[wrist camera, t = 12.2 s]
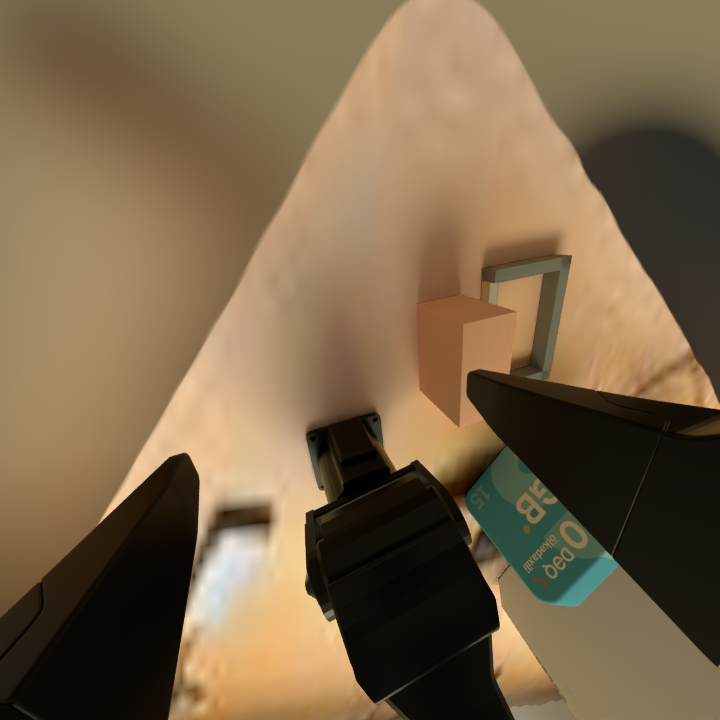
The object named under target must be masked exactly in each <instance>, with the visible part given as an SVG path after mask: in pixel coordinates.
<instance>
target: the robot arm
mask: <svg viewBox="0 0 720 720" xmlns="http://www.w3.org/2000/svg"><path fill="white" fill-rule="evenodd" d="M466 394H467V397H468V399H469V400H470V402H471V403H472V404H473V406H474V407H475V408H476V410H477V411H478V412H479V413H480V415H481V416H482V417H483V419H484V420H485V421H486V422H487V424H488V425H489V426H490V428H491V429H492V430H493V431H494V432H495V434H496V435H497V436H498V437H499V438H500V439H501V440H502V441H503V442H504V443H505V444H506V445H507V446H508V447H509V449H510V450H511V451H512V452H513V453H514V454H515V455H516V456H517V457H518V458H519V459H520V460H521V461H522V462H523V463H524V464H525V465H526V467H527V468H528V469H529V470H530V471H531V472H532V473H533V474H534V475H535V476H536V477H537V478H538V479H539V480H540V481H541V482H542V483H543V485H544V486H545V487H546V488H547V489H548V490H549V491H550V492H551V493H552V494H553V495H554V496H555V497H556V498H557V499H558V500H559V501H560V503H561V504H562V505H563V506H564V507H565V508H566V509H567V510H568V511H569V512H570V513H571V514H572V515H573V516H574V517H575V518H576V519H577V521H578V522H579V523H580V524H581V525H582V526H583V527H584V528H585V529H586V530H587V531H588V532H589V533H590V534H591V535H592V536H593V538H594V539H595V540H596V541H597V542H598V543H599V544H600V545H601V546H602V547H603V548H604V549H605V550H606V551H607V552H608V553H609V554H610V555H611V556H612V558H613V559H614V560H615V561H616V562H617V563H618V564H619V565H620V566H621V567H622V568H623V570H624V571H625V572H626V573H627V574H628V575H629V576H630V577H631V578H632V579H633V580H634V581H635V582H636V583H637V584H638V585H639V587H640V588H641V589H642V590H643V591H644V592H645V593H646V594H647V595H648V596H649V597H650V598H651V599H652V600H653V601H654V602H655V603H656V605H657V606H658V607H659V608H660V609H661V610H662V611H663V612H664V613H665V614H666V615H667V616H668V617H669V618H670V619H671V620H672V622H673V623H674V624H675V625H676V626H677V627H678V628H679V629H680V630H681V631H682V632H683V633H684V634H685V635H686V636H687V637H688V638H689V640H690V641H691V642H692V643H693V644H694V645H695V646H696V647H697V648H698V649H699V650H700V651H701V652H702V653H703V654H704V655H705V656H706V657H707V658H708V659H709V660H710V661H711V662H712V663H713V664H714V665H715V666H716V667H718V668H719V667H720V410H719V409H711V408H704V407H698V406H691V405H684V404H677V403H670V402H663V401H656V400H650V399H643V398H637V397H631V396H625V395H619V394H613V393H608V392H602V391H595V390H591V389H586V388H580V387H575V386H570V385H564V384H559V383H553V382H548V381H542V380H537V379H531V378H526V377H521V376H515V375H510V374H504V373H499V372H493V371H488V370H483V369H477V370H474V371H470V372H469V373H468V374H467V387H466ZM375 417H376V419H374V420H373V418H375ZM312 436H315V437H314V438H310V437H312ZM306 439H307V443H308V448H309V452H310V456H311V460H312V464H313V468H314V472H315V476H316V480H317V484H318V488H319V490H322V491H323V490H325V494H326V497H327V501H328V504H327V505H325V506H323V507H321V508H318V509H316V510H311V511H309V512H307V513H306V524H305V546H306V569H307V574H306V580H305V587H306V591H307V593H308V595H310V596H312V597H313V598H315V599H317V602H318V604H319V605H320V607H321V609H322V612H323V614H324V616H325V617H326V619H327V620H328V621H329V622H331V621H333V620H334V619H336V620H337V623H338V626H339V629H340V633H341V636H342V639H343V642H344V645H345V648H346V651H347V654H348V657H349V660H350V663H351V665H352V668H353V671H354V674H355V678H356V681H357V682H358V684H359V685H360V686H361V688H362V689H363V690H364V691H365V693H366V694H367V695H368V696H369V698H370V699H371V700H372V701H373V702H374V703H375V704H377V705H378V704H379V703H381V702H383V701H385V702H386V703H387V704H389V705H390V706H391V707H392V708H393V709H394V710H395V711H396V712H397V713H398V714H399V715H400V716H401V717H402V718H403V719H404V720H515V719H514V717H513V715H512V713H511V711H510V709H509V707H508V705H507V703H506V700H505V698H504V696H503V694H502V692H501V690H500V688H499V686H498V683H497V681H496V679H495V677H494V668H493V651H492V633H494V632H495V631H497V630H499V628H500V622H499V616H498V610H497V603H496V599H495V596H494V594H493V593H492V591H491V589H490V587H489V586H488V584H487V582H486V580H485V579H484V577H483V575H482V573H481V571H480V569H479V567H478V565H477V563H476V561H475V559H474V557H473V555H472V553H471V551H470V549H469V547H468V545H470V544H471V543H472V538H471V534H470V531H469V528H468V526H467V523H466V521H465V519H464V517H463V515H462V513H461V511H460V509H459V507H458V506H457V504H456V502H455V501H454V499H453V498H452V496H451V495H450V493H449V492H448V491H447V490H446V488H445V487H444V486H443V485H442V484H441V483H440V482H439V481H438V480H437V479H436V478H435V477H434V476H433V475H432V474H431V473H430V472H429V471H428V470H427V469H426V468H425V467H424V466H423V465H422V464H421V463H420V462H419V461H418V460H415V461H413V462H411V463H410V465H408V466H406V467H404V468H402V469H400V470H398V471H397V470H396V469H395V467H394V465H393V464H392V462H391V460H390V459H389V457H388V455H387V454H386V452H385V450H384V448H383V438H382V429H381V419H380V416H379V415H378V414H377V413H370V414H367V415H364V416H360V417H356V418H353V419H349V420H346V421H343V422H339V423H336V424H332V425H330V426H326V427H323V428H320V429H316V430H313V431H310V432H308V433H307V435H306ZM199 485H200V481H199V475H198V473H197V471H196V469H195V466H194V464H193V462H192V460H191V458H190V456H189V455H188V454H187V453H182V454H178V455H174V456H171V457H169V458H168V459H167V460H166V461H165V462H164V463H163V464H162V465H161V466H160V467H159V468H158V469H156V470H155V471H154V472H153V473H152V474H151V475H150V476H149V477H148V478H147V479H146V480H145V481H144V482H143V483H142V484H141V485H140V486H139V487H138V488H137V489H135V490H134V491H133V492H132V493H131V494H130V495H129V496H128V497H127V498H126V499H125V500H124V501H123V502H122V503H121V504H120V505H119V506H118V507H117V508H116V509H114V510H113V511H112V512H111V513H110V514H109V515H108V516H107V517H106V518H105V519H104V520H103V521H102V522H101V523H100V524H99V525H98V526H97V527H96V528H95V529H93V531H92V532H90V533H89V534H88V535H87V536H86V537H85V538H84V539H83V540H82V541H81V542H80V543H79V544H78V545H77V546H76V547H75V548H74V549H72V550H71V551H70V552H69V553H68V555H66V556H65V557H64V558H63V559H62V560H61V561H60V562H59V563H58V564H57V565H56V566H55V567H54V568H53V569H51V570H50V571H49V572H48V573H47V574H46V575H45V576H44V577H43V579H42V580H41V582H38V583H37V584H36V585H35V586H34V587H32V589H30V590H29V591H28V592H27V593H26V594H25V595H24V596H23V597H22V598H21V599H20V600H19V601H18V602H17V603H16V604H15V605H14V606H12V607H11V609H9V610H8V611H7V612H6V613H5V614H4V615H3V616H2V617H1V618H0V720H168V718H169V712H170V706H171V699H172V693H173V687H174V680H175V674H176V668H177V662H178V655H179V649H180V643H181V636H182V630H183V624H184V618H185V611H186V605H187V599H188V592H189V586H190V580H191V574H192V567H193V561H194V555H195V548H196V542H197V533H198V512H199Z"/></svg>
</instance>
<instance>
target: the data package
mask: <svg viewBox="0 0 720 720" xmlns="http://www.w3.org/2000/svg"><path fill="white" fill-rule="evenodd" d="M466 506H467V509H468V510H469V512H470V513H471V515H472V516H473V517H474V519H475V520H476V521H477V522H478V524H479V525H480V526H481V528H482V529H483V530H484V532H485V533H486V534H487V535H488V537H489V538H490V539H491V541H492V542H493V543H494V545H495V546H496V547H497V549H498V550H499V551H500V552H501V554H502V555H503V556H504V558H505V559H506V560H507V562H508V563H509V564H510V566H511V567H512V568H513V569H514V571H515V572H516V573H517V575H518V576H519V577H520V579H521V580H522V581H523V582H524V584H525V585H526V586H527V588H528V589H529V590H530V592H531V593H532V594H533V595H534V596H535V597H536V598H537V599H538V600H540V601H541V602H543V603H546V604H551V605H560V606H568V607H575V606H578V605H580V604H581V603H582V602H583V601H584V600H585V599H586V598H587V597H588V596H589V595H590V594H591V593H592V592H593V591H594V590H595V589H596V588H597V587H598V586H599V585H600V584H601V583H602V582H603V581H604V580H605V579H606V578H607V577H608V576H609V575H610V574H611V573H612V572H613V571H614V570H615V569H616V568H617V567H618V566H619V564H618V563H617V562H616V561H615V560H614V559H613V558H612V556H611V555H610V554H609V553H608V552H607V551H606V550H605V549H604V548H603V547H602V546H601V545H600V544H599V543H598V542H597V541H596V540H595V539H594V538H593V536H592V535H591V534H590V533H589V532H588V531H587V530H586V529H585V528H584V527H583V526H582V525H581V524H580V523H579V522H578V521H577V519H576V518H575V517H574V516H573V515H572V514H571V513H570V512H569V511H568V510H567V509H566V508H565V507H564V506H563V505H562V504H561V503H560V501H559V500H558V499H557V498H556V497H555V496H554V495H553V494H552V493H551V492H550V491H549V490H548V489H547V488H546V487H545V486H544V485H543V483H542V482H541V481H540V480H539V479H538V478H537V477H536V476H535V475H534V474H533V473H532V472H531V471H530V470H529V469H528V468H527V467H526V465H525V464H524V463H523V462H522V461H521V460H520V459H519V458H518V457H517V456H516V455H515V454H514V453H513V452H512V451H511V450H510V449H509V447H508V446H507V445H506V447H505V448H504V449H503V450H502V451H501V453H500V454H499V455H498V456H497V457H496V459H495V460H494V461H493V462H492V463H491V465H490V466H489V467H488V468H487V469H486V471H485V472H484V473H483V474H482V475H481V477H480V478H479V479H478V480H477V481H476V483H475V484H474V485H473V486H472V488H471V489H470V490H469V491H468V493H467V496H466Z"/></svg>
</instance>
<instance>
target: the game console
mask: <svg viewBox="0 0 720 720" xmlns="http://www.w3.org/2000/svg"><path fill="white" fill-rule="evenodd" d="M499 588H500V596H501V603H502V607H503V609H504V610H505V612H506V613H507V615H508V616H509V618H510V619H511V621H512V622H513V624H514V625H515V627H516V628H517V630H518V631H519V633H520V635H521V636H522V638H523V639H524V641H525V642H526V644H527V645H528V647H529V648H530V650H531V651H532V653H533V654H534V656H535V657H536V659H537V660H538V662H539V663H540V665H541V666H542V668H543V669H544V671H545V672H546V674H547V675H548V677H549V678H550V680H551V682H552V683H553V685H554V686H555V688H556V689H557V691H558V692H559V694H560V695H561V697H562V698H563V700H564V701H565V703H566V704H567V706H568V707H569V709H570V710H571V712H572V713H573V715H574V716H575V718H576V719H577V720H720V667H719V668H718V667H716V666H715V665H714V664H713V663H712V662H711V661H710V660H709V659H708V658H707V657H706V656H705V655H704V654H703V653H702V652H701V651H700V650H699V649H698V648H697V647H696V646H695V645H694V644H693V643H692V642H691V641H690V640H689V638H688V637H687V636H686V635H685V634H684V633H683V632H682V631H681V630H680V629H679V628H678V627H677V626H676V625H675V624H674V623H673V622H672V620H671V619H670V618H669V617H668V616H667V615H666V614H665V613H664V612H663V611H662V610H661V609H660V608H659V607H658V606H657V605H656V603H655V602H654V601H653V600H652V599H651V598H650V597H649V596H648V595H647V594H646V593H645V592H644V591H643V590H642V589H641V588H640V587H639V585H638V584H637V583H636V582H635V581H634V580H633V579H632V578H631V577H630V576H629V575H628V574H627V573H626V572H625V571H624V570H623V568H622V567H621V566H620V565H619V566H618V567H617V568H616V569H615V570H614V571H613V572H612V573H611V574H610V575H609V576H608V577H607V578H606V579H605V580H604V581H603V582H602V583H601V584H600V585H599V586H598V587H597V588H596V589H595V590H594V591H593V592H592V593H591V594H590V595H589V596H588V597H587V598H586V599H585V600H584V601H583V602H582V603H581V604H580V605H578V606H575V607H568V606H560V605H551V604H546V603H543V602H541V601H540V600H538V599H537V598H536V597H535V596H534V595H533V594H532V593H531V592H530V590H529V589H528V588H527V586H526V585H525V584H524V582H523V581H522V580H521V579H520V577H519V576H518V575H517V573H516V572H515V571H514V569H513V568H512V567H511V566H509V567H508V569H507V570H506V571H505V572H504V574H503V575H502V576H501V578H500V579H499Z"/></svg>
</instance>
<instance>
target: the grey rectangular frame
mask: <svg viewBox="0 0 720 720" xmlns="http://www.w3.org/2000/svg"><path fill="white" fill-rule="evenodd" d="M571 258H572V255H559V254H555V255H549V256H544V257H539V258H534V259H528V260H523V261H518V262H513V263H507V264H502V265H497V266H491V267H486V268H483V271H482V287H481V301H484V302H487V303H490V304H494V305H497V295H498V284H499V283H500V282H504V281H509V280H514V279H519V278H524V277H529V276H534V275H538V274H543V273H544V277H543V284H542V290H541V297H540V303H539V310H538V317H537V323H536V330H535V336H534V343H533V350H532V356H531V363H530V366H527V367H523V368H520V369H516V370H513V371H510V375H515V376H521V377H526V378H531V379H537V380H544V379H548V378H549V376H550V371H551V366H552V360H553V355H554V350H555V344H556V339H557V333H558V328H559V323H560V317H561V312H562V307H563V301H564V296H565V291H566V285H567V280H568V274H569V269H570V264H571Z"/></svg>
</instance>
